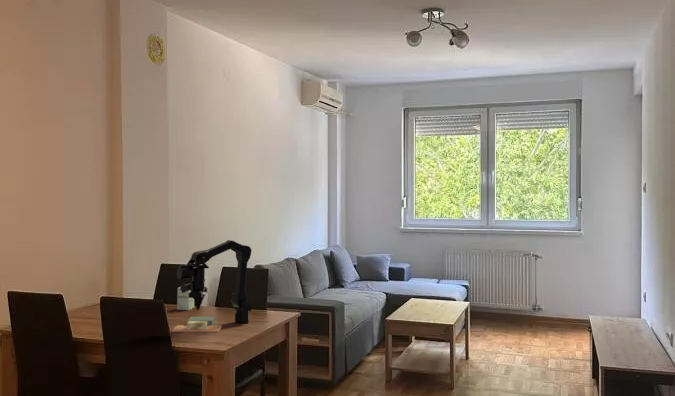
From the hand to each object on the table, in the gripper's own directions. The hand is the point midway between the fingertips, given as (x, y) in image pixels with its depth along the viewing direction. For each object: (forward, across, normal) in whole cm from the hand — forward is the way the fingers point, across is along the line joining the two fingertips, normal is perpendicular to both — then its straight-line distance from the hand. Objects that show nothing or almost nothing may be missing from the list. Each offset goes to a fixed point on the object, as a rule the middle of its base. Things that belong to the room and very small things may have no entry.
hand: (198, 309), depth 300 cm
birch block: (+7, +2, 0) cm, 7 cm away
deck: (+9, -9, 0) cm, 13 cm away
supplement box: (+9, -51, -16) cm, 54 cm away
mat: (+9, +2, 0) cm, 9 cm away
